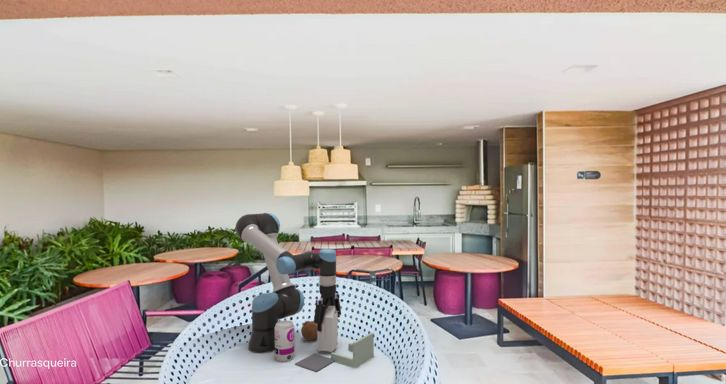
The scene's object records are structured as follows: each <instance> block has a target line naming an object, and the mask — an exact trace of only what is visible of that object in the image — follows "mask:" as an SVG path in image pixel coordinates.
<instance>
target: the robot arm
mask: <svg viewBox="0 0 726 384" xmlns="http://www.w3.org/2000/svg"><path fill="white" fill-rule="evenodd" d="M280 227H281V223H280V220H279V218H278V217H277V215H276V214H273V213H269V212H264V213H253V214H252V213H247V214H243V215H242V216H240V218H238V220H237V221H236V224H235V233H236V235H237V236H238V237H239V239H240V240H242V241H243V242H244V243H249V244H250V245H252V246H253V247H254V248H255V249H257V250H258V251H259V252H260V253H262V254H263V257H264V258H263V259H264V260H265V264H266V267H267V270H268V274H269V276H270V280H271V284H272V287H273V290H272V292H267V293H266V292H265V293H260V294H258V295H257V296H255V297H254V298H253V300H252V302H251V322H252V323H251V334H250V338H249V340H248V345H247V346H248V350H249V351H250V352H251V353H252V352H253V353H258V354H259V353H261V354H263V353H270V352H273V351H274V352H275V326H276V323H277V322H279V320H282V319H283V320H284V319H285V318H288V317H291V316H292V317H293V316H295V315H296V314H298V313H299V314H300V312H301V311H302V310H303V309H304V305H305V296H304V294H303V292H302V290H300V289H299V288H296V285H295V283H292V282H291V280H290V276H289V275H291V274H295V273H298V272H304V271H308V270H312V269H313V270H317V271H318V272H319V273H318V274H319V276H318V277H319V281H318V283H319V286H318V287H319V293H320V298H319V299H315V309H314V317H313V321H314V323H316V324H317V330H318V338H321V339H324V324H323V319H324V316H325V312H326V309H327V308H328V306H335V309H336V311H337V313H338V318H340V317H341V315H342V309H341V303H340V294H339V293H337V285H336V284H337V261H338V260H337V252H336V250H335V249H333V248H323V249H320V250H319V252H315V251H311V250H309V251H308V250H305V251H302V252H301V253H297V254H293V253H291V252H290V251H288V250H287V249H286V248H284V247H283V246H282V245H281V244H279V242H278V236H279V232H280V230H281V228H280ZM323 305H324V306H323Z"/></svg>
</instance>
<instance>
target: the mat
mask: <svg viewBox="0 0 726 384" xmlns="http://www.w3.org/2000/svg"><path fill="white" fill-rule="evenodd" d="M333 363H336V362H335V360H332V359H331V357H328V356H324V355H322V354H318V353H311V354H310V355H308V356H306V357H305V358H302V359H301V360H299V361H296V362H295V363H294V365H296V366H298V367H300V368H304V369H306V370H309V371H312V372H315V373H318V372H320V371H321V370H323V369H324V368H326V367H328V366H330V365H332V364H333Z"/></svg>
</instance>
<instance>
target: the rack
mask: <svg viewBox="0 0 726 384" xmlns="http://www.w3.org/2000/svg"><path fill="white" fill-rule="evenodd" d="M374 337H375V336H374V332H369V333H368V334H366V335H364V336H361V337H360V338H358V339H357V340H355V341H353V342H349V343H348V347H347V349H348V350H349V352H351V353H352V357H349V356H346V355H342V354H339V353H335V352H334V351H333V352H330V358H331V359H332V360H335V362H334V363H337V364H342V365H345V366H347V367H350V368H353V369H357V368H358V367H359V366H361V365H363V364H364V363H366V362H367V361H369V360H370V359H372V358H373V357H375V351H374V349H375V348H374V345H375V343H374V341H375V340H374V339H375V338H374Z"/></svg>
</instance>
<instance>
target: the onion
mask: <svg viewBox="0 0 726 384" xmlns="http://www.w3.org/2000/svg"><path fill="white" fill-rule="evenodd" d="M301 336H302V338H303V339H304V340H306V341H317V324H316V323H314V320H306V321H304V323H303V325H302V326H301Z"/></svg>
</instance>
